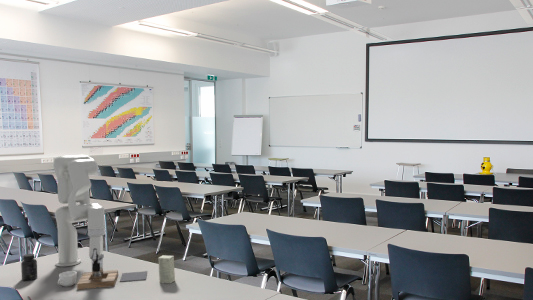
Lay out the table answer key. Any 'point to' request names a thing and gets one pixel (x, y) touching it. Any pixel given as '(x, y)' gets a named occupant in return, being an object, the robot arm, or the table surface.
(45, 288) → the table surface
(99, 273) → the grey light bulb
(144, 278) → the mat
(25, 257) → the supplement bottle
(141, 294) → the table surface
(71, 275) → the teacup
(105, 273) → the wooden square frame
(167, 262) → the skincare box
